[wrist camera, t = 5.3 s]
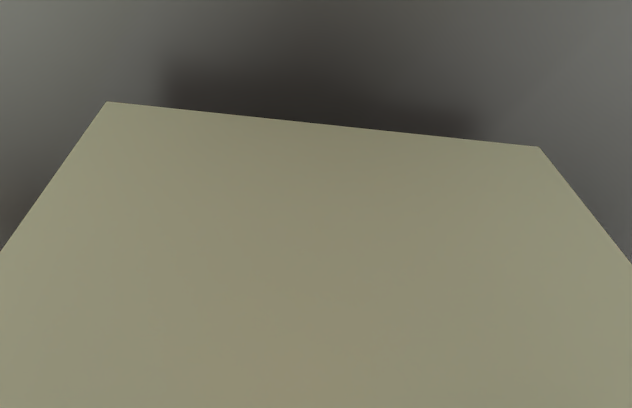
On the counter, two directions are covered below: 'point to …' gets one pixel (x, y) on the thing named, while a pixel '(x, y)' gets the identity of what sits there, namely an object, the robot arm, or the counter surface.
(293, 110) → the counter surface
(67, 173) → the sage green cuboid
